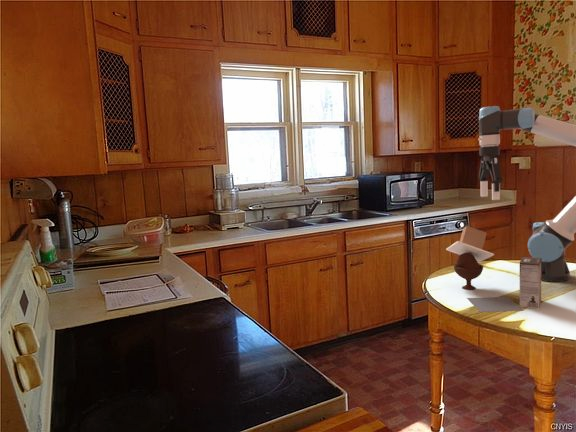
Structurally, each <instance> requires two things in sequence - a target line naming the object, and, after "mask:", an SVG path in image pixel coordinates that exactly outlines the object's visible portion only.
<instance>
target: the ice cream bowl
mask: <svg viewBox="0 0 576 432" xmlns="http://www.w3.org/2000/svg"><path fill="white" fill-rule="evenodd" d="M453 269H454V271H455V274H457V275H458V276H459V277H461V278H462V279H465V282H466V284H465V285H463V286H462V287H461V289H463V290H466V291H475V290H476V289H477V288H476V287H475V286H474V285H473V284H472V280H474V279H477V278H478V277H480V275H481V274H482V272H483V270H484V265H482V264H480V262H478V261H477V260H476V259H475V257H474V256H473V255H472V254H470V253H463V254H461V255H458V259H457V260H456V263H455V264H454V265H453Z"/></svg>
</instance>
